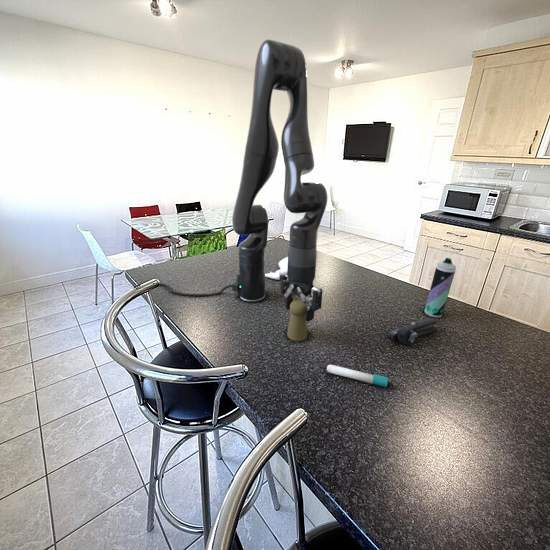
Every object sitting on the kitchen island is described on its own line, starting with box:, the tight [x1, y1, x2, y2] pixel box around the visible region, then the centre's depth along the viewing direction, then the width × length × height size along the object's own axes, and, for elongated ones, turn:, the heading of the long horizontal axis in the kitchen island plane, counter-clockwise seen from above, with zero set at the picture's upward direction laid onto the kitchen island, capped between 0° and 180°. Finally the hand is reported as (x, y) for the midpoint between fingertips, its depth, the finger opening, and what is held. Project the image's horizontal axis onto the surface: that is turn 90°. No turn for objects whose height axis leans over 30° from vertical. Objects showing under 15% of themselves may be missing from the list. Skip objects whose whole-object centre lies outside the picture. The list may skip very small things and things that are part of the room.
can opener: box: [387, 318, 438, 346], centre depth 86 cm, size 18×7×6 cm, turn 117°
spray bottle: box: [265, 256, 288, 281], centre depth 130 cm, size 3×11×24 cm
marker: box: [326, 364, 389, 388], centre depth 70 cm, size 14×2×2 cm, turn 70°
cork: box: [286, 299, 308, 342], centre depth 84 cm, size 6×6×11 cm
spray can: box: [424, 257, 457, 318], centre depth 95 cm, size 6×6×20 cm
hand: (298, 314), depth 84 cm, fingers open, 7 cm apart
